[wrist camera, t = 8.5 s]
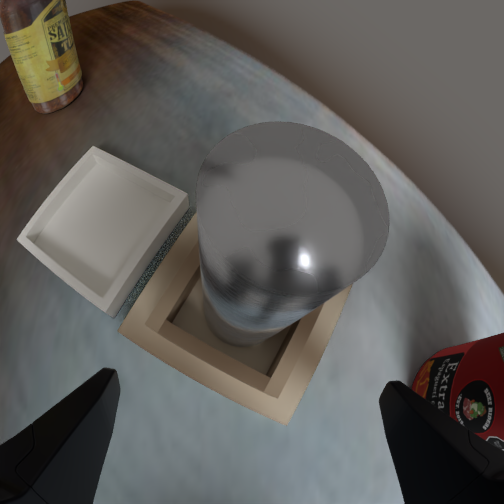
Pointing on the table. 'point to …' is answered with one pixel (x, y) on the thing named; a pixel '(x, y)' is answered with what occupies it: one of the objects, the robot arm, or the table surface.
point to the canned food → (468, 386)
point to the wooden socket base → (217, 352)
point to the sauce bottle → (43, 51)
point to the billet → (282, 227)
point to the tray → (104, 227)
